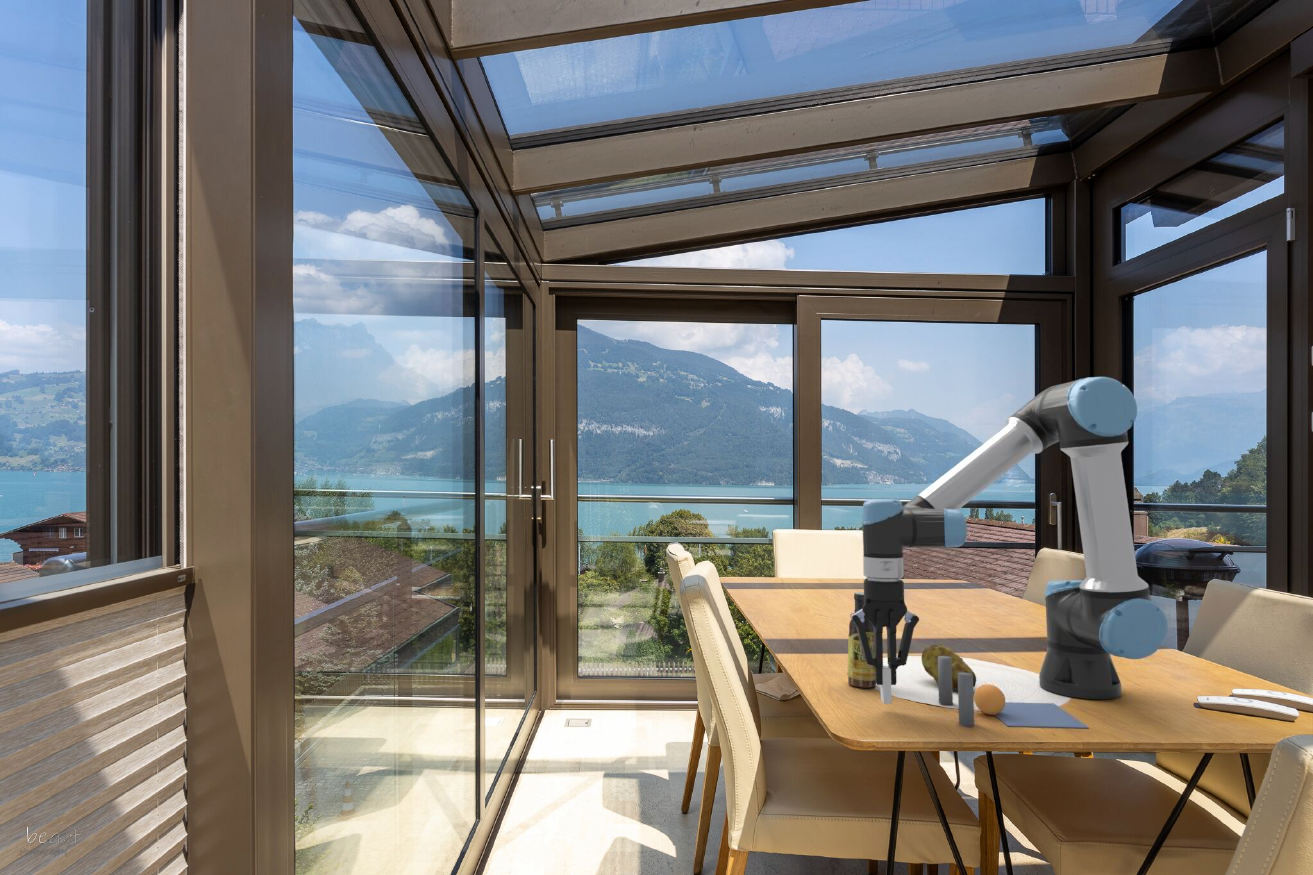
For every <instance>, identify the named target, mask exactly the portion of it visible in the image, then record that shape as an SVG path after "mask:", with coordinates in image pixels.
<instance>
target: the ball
mask: <svg viewBox="0 0 1313 875" xmlns="http://www.w3.org/2000/svg"><path fill="white" fill-rule="evenodd" d="M973 694H974V705H975V706H976V708H977V709H978V710H979V711H980V712H981V713H984V714H986V715H989V716H992V715H994V716H995V714H998V713H1000V712H1001V711H1002V710H1003V709H1004V707H1005V702H1006V697H1005V694H1004V693H1003V691H1002V690H1001V689H1000V688H999V687H997V685H993V684H989V683H986V684H982V685H980V686H979V687H977V688H976V689H975V691H974V692H973Z"/></svg>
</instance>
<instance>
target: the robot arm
mask: <svg viewBox="0 0 1313 875" xmlns="http://www.w3.org/2000/svg"><path fill="white" fill-rule="evenodd" d="M1137 416H1138V404H1137V401H1136V398H1135V396H1134V395H1133V393H1132V392H1131V390H1130V388H1128V387H1127V385H1125V384H1123V383H1122V382H1120V381H1119V380H1117V379H1116V378H1115V379H1114V378H1112V377H1107V376H1094V377H1093V376H1091V377H1089V376H1088V377H1085V378H1084V377H1083V378H1079V379H1077V380H1072V381H1070V382H1069V381H1068V382H1065V383H1059V384H1055V385H1053V386H1049V387H1047V388H1046V389H1045V390H1043V391H1041V392H1040V393H1038V394H1037V395H1036V396H1034V397H1033V398H1032V399H1031V400H1029V401H1028V402H1026V403H1025V404H1024V405H1023V406H1022V407H1020V408H1019V409H1018V410H1017V411H1016V412H1015V413H1013V414H1012V415H1010V417H1008V418H1007V419H1006V421H1005V426H1004V427H1003V428H1001V429H1000V430H999V431H998V432H997V433H995V434H994V435H993V436H992V437H990V438H989V439H988V440H987V441H985V442H984V443H983V444H981V445H980V446H979V447H978V448H976V449H975V450H974V451H972V452H970V454H968V455H967V456H966V457H965V458H963V459H961V461H959V462H958V463H956V465H955V466H953V467H952V468H951V469H949V470H948V471H947V472H945V473H944V474H943V475H942V476H941V477H939V478H938V479H936V480H935V481H934V482H933V483H932V484H930V485H929V486H928V487H926V488H925V489H924V490H922V491H921V492H920V493H919V494H917V495H916V496H915V497H913V498H911V500H909V501H908V502H907V503H906V504H903V503H902V501H901V500H900V499H894V498H893V499H890V498H889V499H887V498H886V499H885V498H881V499H880V498H879V499H878V498H877V499H876V498H874V499H872V498H871V499H867V500H865V501H864V502H863V505H862V518H861V519H862V520H861V526H862V545H863V547H862V548H863V549H862V550H863V552H862V553H863V555H862V556H863V557H862V558H863V559H862V561H863V566H862V567H863V570H862V571H863V576H864V577H866V578H864V580H863V592H864V602H863V604H862V607H861V610H859V611H858V612H856V613H855V612H851V614H850V616H849V617H850V620H851V619H852V620H853V622H854V623H855V625H856V628H857V632H858V636H859V639H860V643H861V647H862V651H863V655H864V658H865V661H866V662H867V663H868V664H869V665H872V666H874V667H875V681H876V685H877V686H880V701H881V702H882V704H885V705H891V704H892V703H893V702H892V700H893V699H892V686H896V685H897V682H898V681H897V669H898V668H899V667H901V666H903V667H904V666H906V665H907V660H908V657H909V654H910V649H911V643H912V639H913V635H914V631H915V628H916V626H917V624H918V623H919V621H920V618H919V616H918V615H917V614H915V613H912V612H910V611H909V610H908V606H907V605H906V603H905V582H904V580H902V578H904V576H905V575H904V574H905V573H904V571H905V570H904V548H907V549H912V548H923V549H925V548H937V549H939V548H943V549H949V548H959V547H962V546H963V545H964V544H965V542H966V540H967V534H968V525H967V520H966V517H965V515H964V514H963V513H962V512H961V511H960V509H961V508H962V507H964V506H965V505H966V504H968V503H969V502H970V501H972V500H973V499H974V498H976V497H977V496H978V495H979V494H981V493H982V492H983V491H985V490H986V489H987V488H988V487H989V486H991V485H992V484H993V483H995V482H997V481H998V480H999V479H1000V478H1001V477H1002V476H1004V475H1005V474H1006V473H1008V472H1009V471H1010V470H1012V469H1013V468H1014V467H1016V466H1017V465H1018V464H1020V463H1021V462H1022V461H1023V460H1025V459H1026V458H1028V456H1029V455H1031V454H1041V452H1043V451H1044V450H1045V449H1047V448H1048V447H1050V446H1051V445H1054V444H1056V443H1059V448H1060V451H1062V452H1064V454H1066V455H1067V456H1068V457H1070V462H1071V463H1070V464H1071V471H1072V478H1073V487H1074V493H1075V501H1076V507H1077V508H1076V509H1077V514H1078V523H1079V531H1080V538H1081V545H1082V553H1083V559H1084V566H1085V574H1086V577H1085V578H1084V579H1083V580H1082V579H1081V580H1077V579H1076V580H1073V579H1072V580H1069V579H1068V580H1050V581H1048V582H1047V584H1046V585H1045V594H1044V600H1045V613H1046V615H1045V618H1046V621H1045V622H1046V640H1047V644H1046V645H1047V648H1046V650H1047V651H1046V653H1045V656H1044V660H1043V662H1042V665H1041V668H1040V671H1039V676H1038V677H1039V678H1038V679H1039V686H1040V687H1041V688H1043V689H1044V690H1046V691H1048V692H1052V693H1054V694H1057V695H1061V696H1065V697H1066V696H1067V697H1070V698H1071V697H1072V698H1077V699H1084V700H1085V699H1086V700H1113V699H1117V698H1119V697H1121V696H1122V694H1123V693H1122V692H1123V691H1122V682H1121V679H1120V677H1119V675H1118V672H1117V669H1116V666H1115V664H1114V662H1113V659H1112V656H1114V657H1117V658H1124V659H1129V660H1141V659H1145V658H1148V657H1150V656H1152V655H1153V654H1155V653H1156V652H1157V651H1158V650H1159V648H1160V647H1162V646H1163V645H1164V643H1165V641H1166V639H1167V636H1168V631H1169V630H1168V629H1169V624H1168V619H1167V617H1166V614H1165V612H1164V611H1163V609H1161V608H1160V607H1159V606H1158V605H1157V604H1156V603H1155V602H1153V601H1152V600H1151V593H1150V586H1149V583H1147V582H1146V581H1145V580H1144V579H1142V578H1141V577H1140V576H1139V574H1138V568H1137V562H1136V553H1135V546H1134V540H1133V533H1132V526H1131V518H1130V511H1129V510H1130V509H1129V502H1128V497H1127V489H1126V483H1125V482H1126V481H1125V475H1124V468H1123V462H1122V454H1121V453H1122V451H1123V450H1125V448H1126V447H1127V446H1128V444H1129V437H1128V430H1129V429H1131V427H1132V426H1133V423H1134V422H1136V419H1137ZM864 615H866V617H867V618H868V619H869V621H870V622H871V623H872V624H873V631H874V658H872V654H871V650H870V647H869V643H868V639H867V635H866V631H865V628H864V625H863V622H864ZM903 618H904V622H905V623H904V626H903V630H902V634H901V639H900V643H899V648H898V653H897V626H898V625H899V623H900V622H901V621H902V619H903ZM884 628H886V646H887V647H886V648H887V649H886V650H887V654H886V655H887V657H886V658H887V665H884V656H883V655H884V652H883V651H884V650H883V649H884V646H883V643H884V642H883V633H884Z"/></svg>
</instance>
